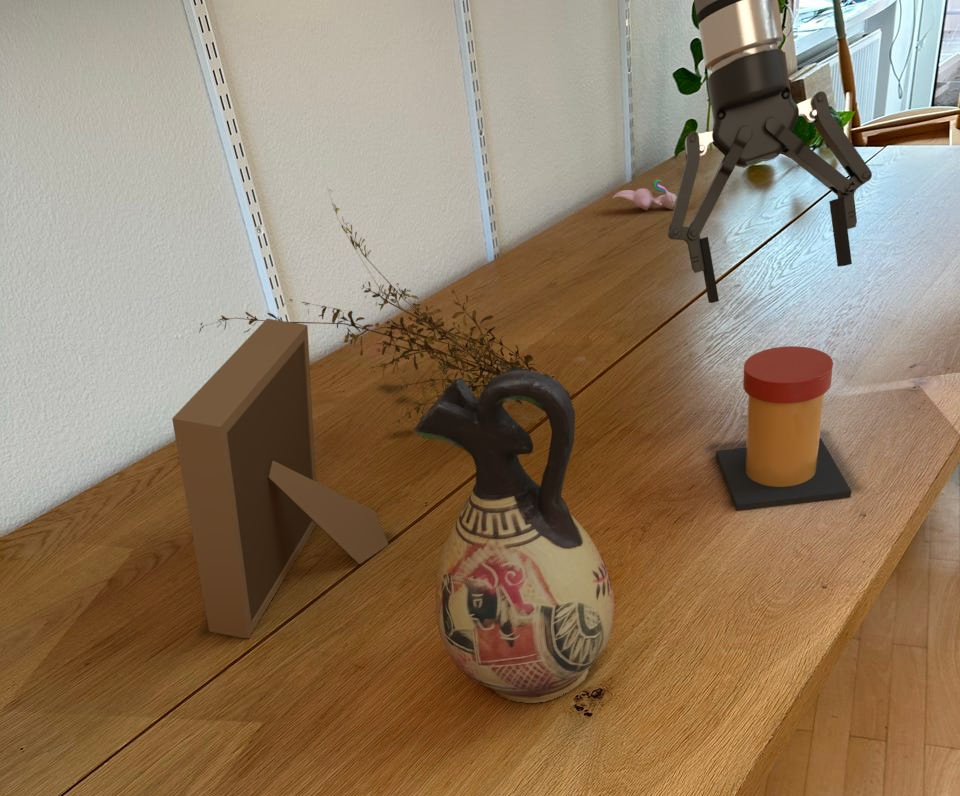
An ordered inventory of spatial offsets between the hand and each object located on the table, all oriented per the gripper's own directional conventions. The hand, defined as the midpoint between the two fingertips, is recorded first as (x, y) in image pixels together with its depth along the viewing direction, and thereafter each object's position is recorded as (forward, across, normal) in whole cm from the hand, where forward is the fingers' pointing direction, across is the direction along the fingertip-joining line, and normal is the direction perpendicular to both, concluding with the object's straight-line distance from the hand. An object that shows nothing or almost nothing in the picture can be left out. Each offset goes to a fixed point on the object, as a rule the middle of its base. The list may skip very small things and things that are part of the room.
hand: (778, 284), depth 96 cm
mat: (+20, +3, +1) cm, 20 cm away
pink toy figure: (-16, +4, -100) cm, 101 cm away
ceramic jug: (+26, +31, +30) cm, 50 cm away
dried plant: (+8, +46, -16) cm, 49 cm away
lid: (+8, +1, +6) cm, 10 cm away
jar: (+19, +3, +2) cm, 19 cm away
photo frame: (+16, +56, +12) cm, 59 cm away
